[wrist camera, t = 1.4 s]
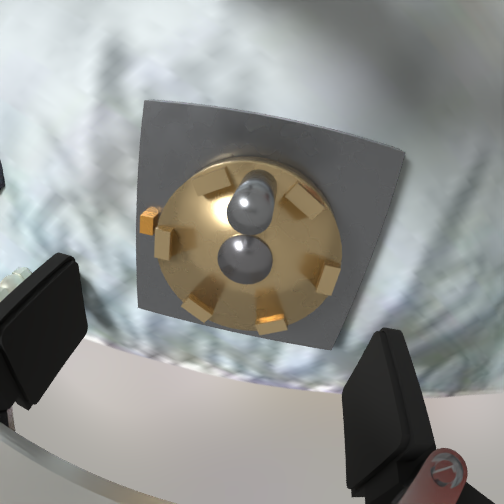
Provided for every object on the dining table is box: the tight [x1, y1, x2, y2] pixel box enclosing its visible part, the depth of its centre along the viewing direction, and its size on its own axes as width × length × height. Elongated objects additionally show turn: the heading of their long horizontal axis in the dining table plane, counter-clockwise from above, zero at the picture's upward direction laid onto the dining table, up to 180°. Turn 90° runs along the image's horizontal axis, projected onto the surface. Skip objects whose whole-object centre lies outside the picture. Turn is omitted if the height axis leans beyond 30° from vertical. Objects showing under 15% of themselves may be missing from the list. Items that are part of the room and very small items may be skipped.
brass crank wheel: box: [154, 156, 342, 335], centre depth 22 cm, size 14×14×8 cm
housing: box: [136, 100, 405, 350], centre depth 26 cm, size 20×20×3 cm
